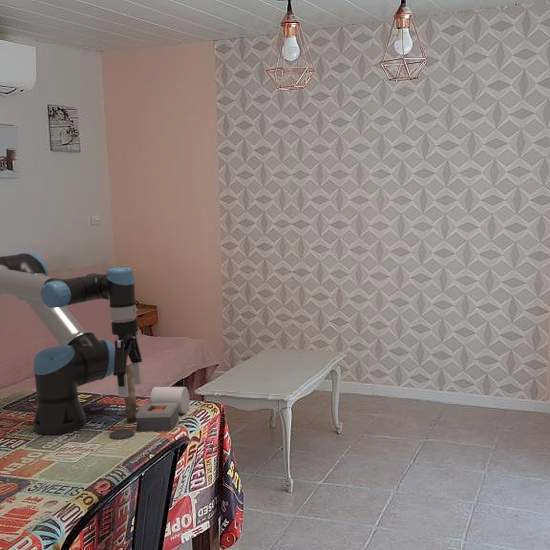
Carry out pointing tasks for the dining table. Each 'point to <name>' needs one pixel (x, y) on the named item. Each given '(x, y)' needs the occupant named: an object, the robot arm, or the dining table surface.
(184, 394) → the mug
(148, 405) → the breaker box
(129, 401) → the brown upright bar
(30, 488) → the dining table surface
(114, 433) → the coaster
